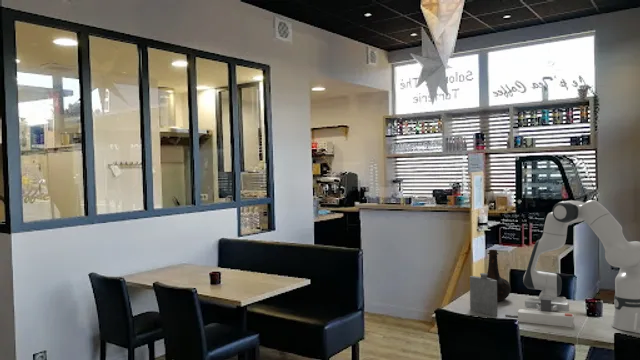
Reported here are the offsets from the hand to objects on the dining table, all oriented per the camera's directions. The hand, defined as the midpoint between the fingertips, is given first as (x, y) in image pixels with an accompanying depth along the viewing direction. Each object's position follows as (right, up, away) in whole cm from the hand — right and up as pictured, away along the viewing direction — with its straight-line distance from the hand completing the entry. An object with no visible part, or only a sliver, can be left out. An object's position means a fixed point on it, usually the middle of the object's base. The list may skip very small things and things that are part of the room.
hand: (545, 308), depth 253 cm
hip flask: (-25, -6, +16) cm, 30 cm away
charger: (0, -5, +1) cm, 6 cm away
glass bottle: (-11, -5, +42) cm, 44 cm away
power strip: (-5, -6, -3) cm, 8 cm away
